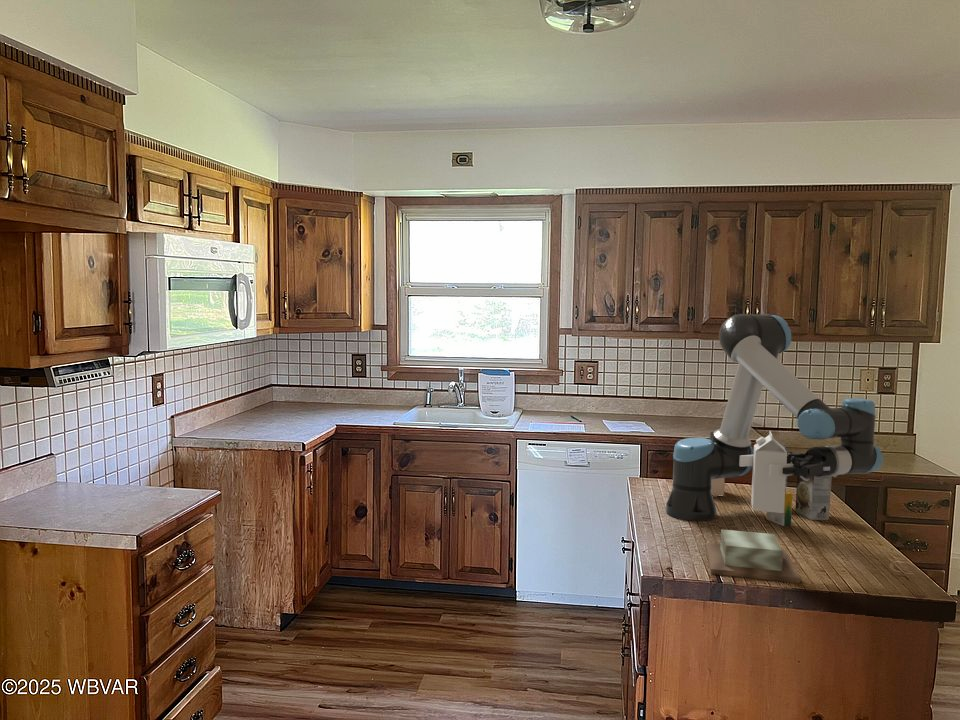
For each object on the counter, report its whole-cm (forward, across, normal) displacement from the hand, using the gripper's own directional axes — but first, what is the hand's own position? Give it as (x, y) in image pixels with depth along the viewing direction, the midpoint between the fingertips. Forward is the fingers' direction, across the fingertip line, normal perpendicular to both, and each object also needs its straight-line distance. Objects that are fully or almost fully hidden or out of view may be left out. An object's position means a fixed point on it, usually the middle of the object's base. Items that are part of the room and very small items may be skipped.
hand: (754, 465), depth 169 cm
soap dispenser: (-37, +62, -27) cm, 77 cm away
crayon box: (-34, +29, -26) cm, 52 cm away
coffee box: (-50, +32, -26) cm, 65 cm away
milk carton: (-4, 0, -11) cm, 12 cm away
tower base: (-2, +2, -26) cm, 26 cm away
